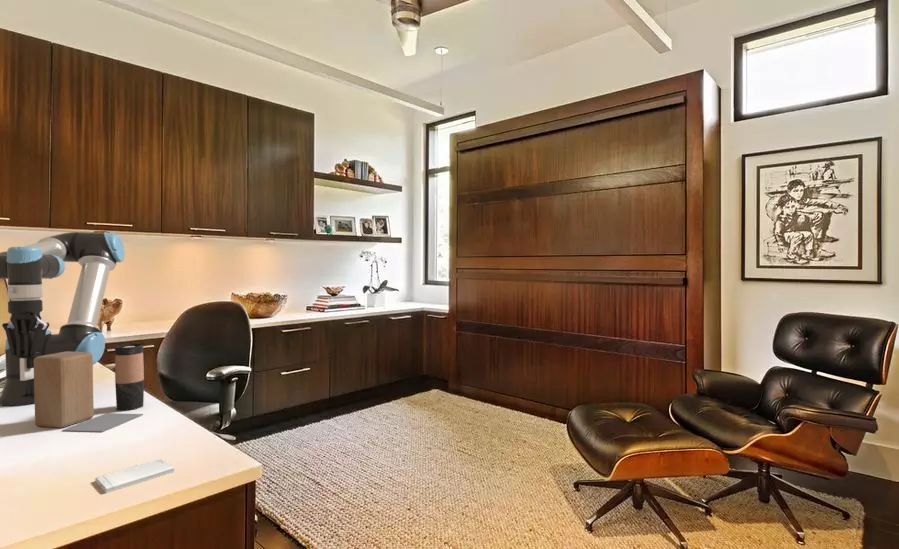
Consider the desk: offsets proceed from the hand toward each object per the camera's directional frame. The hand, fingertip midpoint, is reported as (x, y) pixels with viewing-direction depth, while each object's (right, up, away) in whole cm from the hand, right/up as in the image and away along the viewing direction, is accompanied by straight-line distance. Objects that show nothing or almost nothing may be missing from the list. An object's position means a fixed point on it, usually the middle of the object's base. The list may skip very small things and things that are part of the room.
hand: (27, 379), depth 138 cm
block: (+12, -13, -1) cm, 17 cm away
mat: (+24, -12, -1) cm, 27 cm away
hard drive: (+57, -13, -37) cm, 69 cm away
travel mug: (+21, -12, +13) cm, 28 cm away
